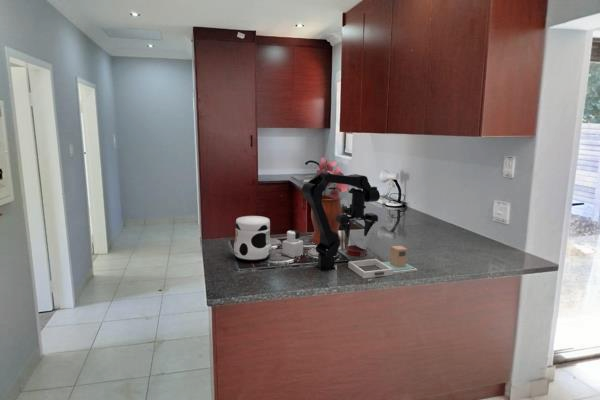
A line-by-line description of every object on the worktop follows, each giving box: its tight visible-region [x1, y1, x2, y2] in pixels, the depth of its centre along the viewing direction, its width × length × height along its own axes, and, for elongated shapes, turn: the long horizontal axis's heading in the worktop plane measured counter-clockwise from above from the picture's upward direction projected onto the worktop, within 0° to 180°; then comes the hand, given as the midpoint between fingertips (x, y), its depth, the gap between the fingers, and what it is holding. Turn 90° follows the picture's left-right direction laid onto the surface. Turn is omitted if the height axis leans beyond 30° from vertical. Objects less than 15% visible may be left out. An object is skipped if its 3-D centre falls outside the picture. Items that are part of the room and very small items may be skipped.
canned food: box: [345, 235, 368, 258], centre depth 198 cm, size 11×10×10 cm
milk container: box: [233, 215, 272, 262], centre depth 186 cm, size 17×17×18 cm
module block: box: [389, 245, 408, 267], centre depth 179 cm, size 5×5×8 cm
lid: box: [381, 260, 418, 275], centre depth 180 cm, size 13×12×1 cm
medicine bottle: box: [282, 229, 304, 257], centre depth 192 cm, size 7×7×12 cm
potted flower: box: [310, 156, 350, 245], centre depth 213 cm, size 19×25×45 cm
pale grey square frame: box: [347, 258, 394, 279], centre depth 174 cm, size 14×15×2 cm
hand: (356, 236), depth 183 cm, fingers open, 9 cm apart
